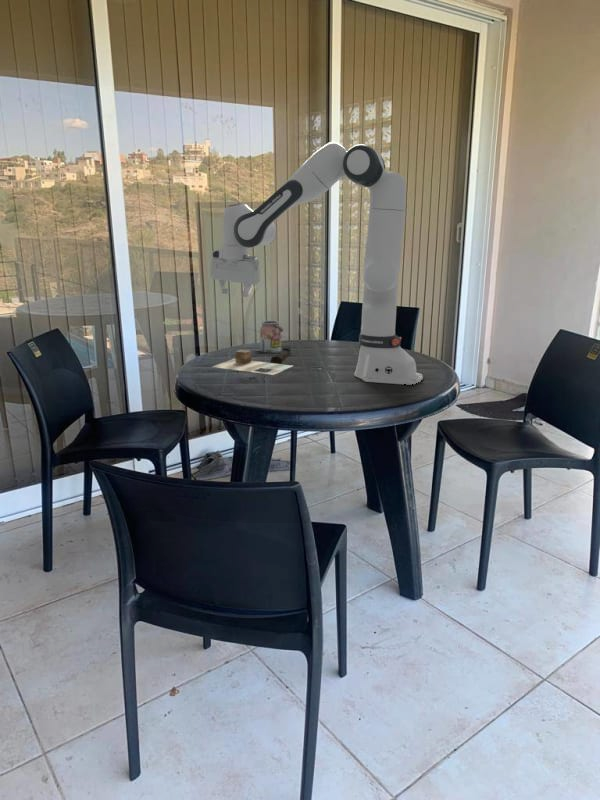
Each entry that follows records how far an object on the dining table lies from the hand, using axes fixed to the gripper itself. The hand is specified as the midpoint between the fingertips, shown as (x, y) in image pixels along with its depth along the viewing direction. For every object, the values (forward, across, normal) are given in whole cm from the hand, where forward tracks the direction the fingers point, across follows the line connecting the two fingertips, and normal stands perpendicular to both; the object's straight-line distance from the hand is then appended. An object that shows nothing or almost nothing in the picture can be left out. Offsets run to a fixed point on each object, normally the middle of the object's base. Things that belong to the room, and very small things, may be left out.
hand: (234, 295), depth 200 cm
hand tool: (+24, -10, -15) cm, 31 cm away
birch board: (+24, -12, +3) cm, 27 cm away
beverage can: (+24, +3, -26) cm, 36 cm away
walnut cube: (+23, -5, 0) cm, 24 cm away
